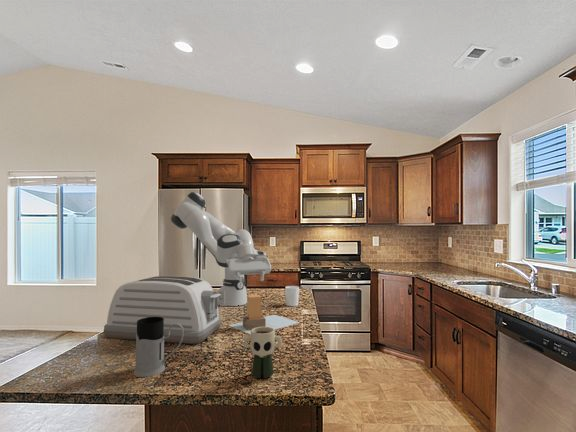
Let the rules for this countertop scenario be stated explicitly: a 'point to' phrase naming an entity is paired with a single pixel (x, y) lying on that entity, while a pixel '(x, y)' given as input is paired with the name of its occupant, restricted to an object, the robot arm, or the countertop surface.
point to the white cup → (292, 295)
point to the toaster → (165, 308)
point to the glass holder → (151, 346)
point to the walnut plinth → (253, 322)
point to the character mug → (262, 350)
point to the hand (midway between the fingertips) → (252, 280)
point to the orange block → (253, 306)
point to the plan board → (269, 323)
